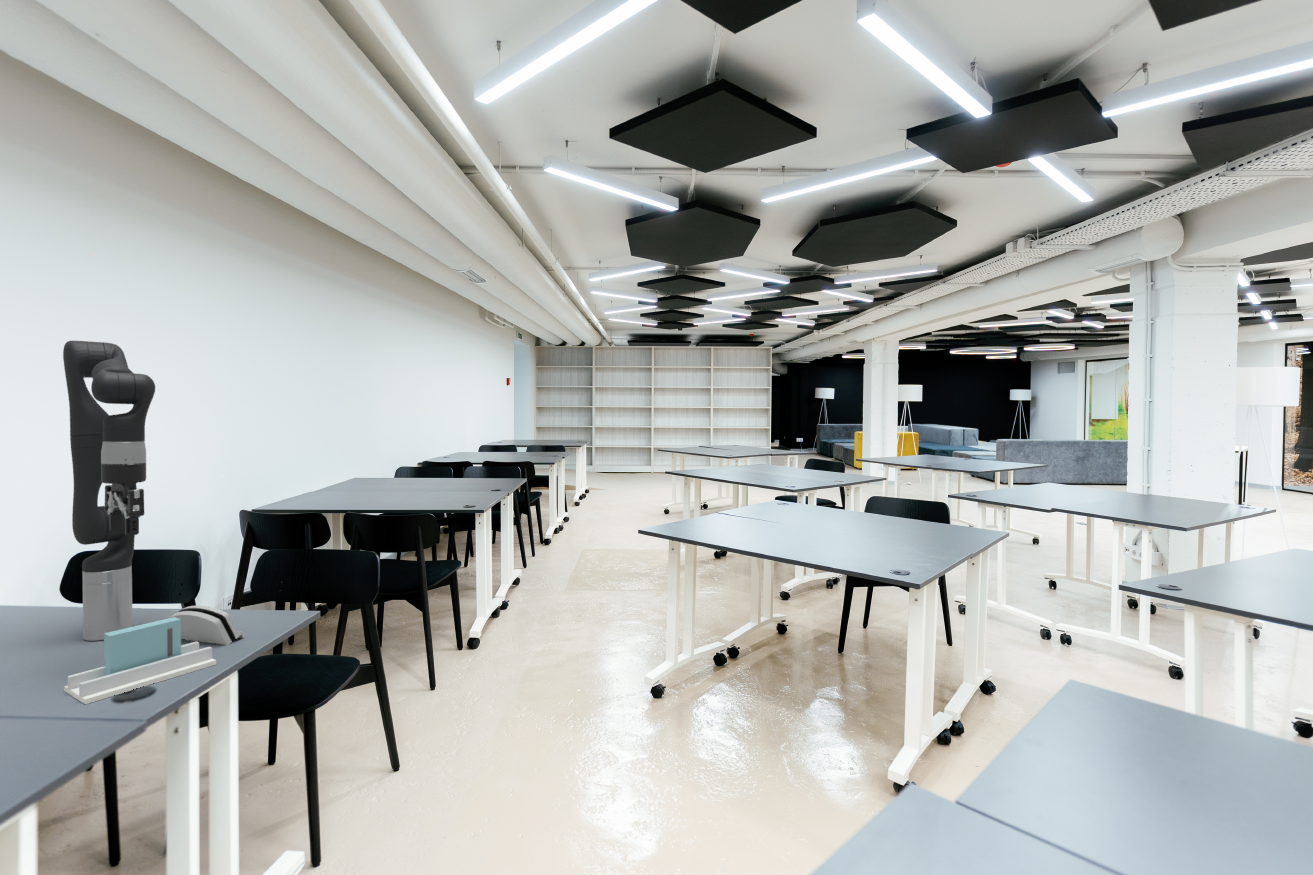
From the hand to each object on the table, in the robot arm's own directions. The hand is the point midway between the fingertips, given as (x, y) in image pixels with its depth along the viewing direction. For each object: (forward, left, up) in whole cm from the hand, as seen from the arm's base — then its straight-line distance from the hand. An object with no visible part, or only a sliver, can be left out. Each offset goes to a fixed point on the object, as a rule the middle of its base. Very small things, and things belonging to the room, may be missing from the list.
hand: (124, 532), depth 131 cm
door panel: (+13, -1, -29) cm, 31 cm away
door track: (+13, -1, -30) cm, 32 cm away
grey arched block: (-1, +16, -30) cm, 34 cm away
